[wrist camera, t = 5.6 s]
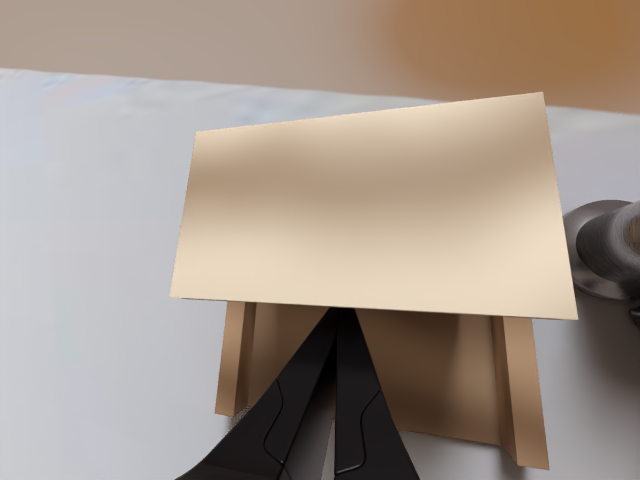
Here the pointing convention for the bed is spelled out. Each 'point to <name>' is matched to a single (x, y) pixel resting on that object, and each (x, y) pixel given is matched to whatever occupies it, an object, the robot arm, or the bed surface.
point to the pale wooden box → (381, 213)
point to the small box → (636, 315)
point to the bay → (407, 370)
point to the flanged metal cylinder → (605, 248)
